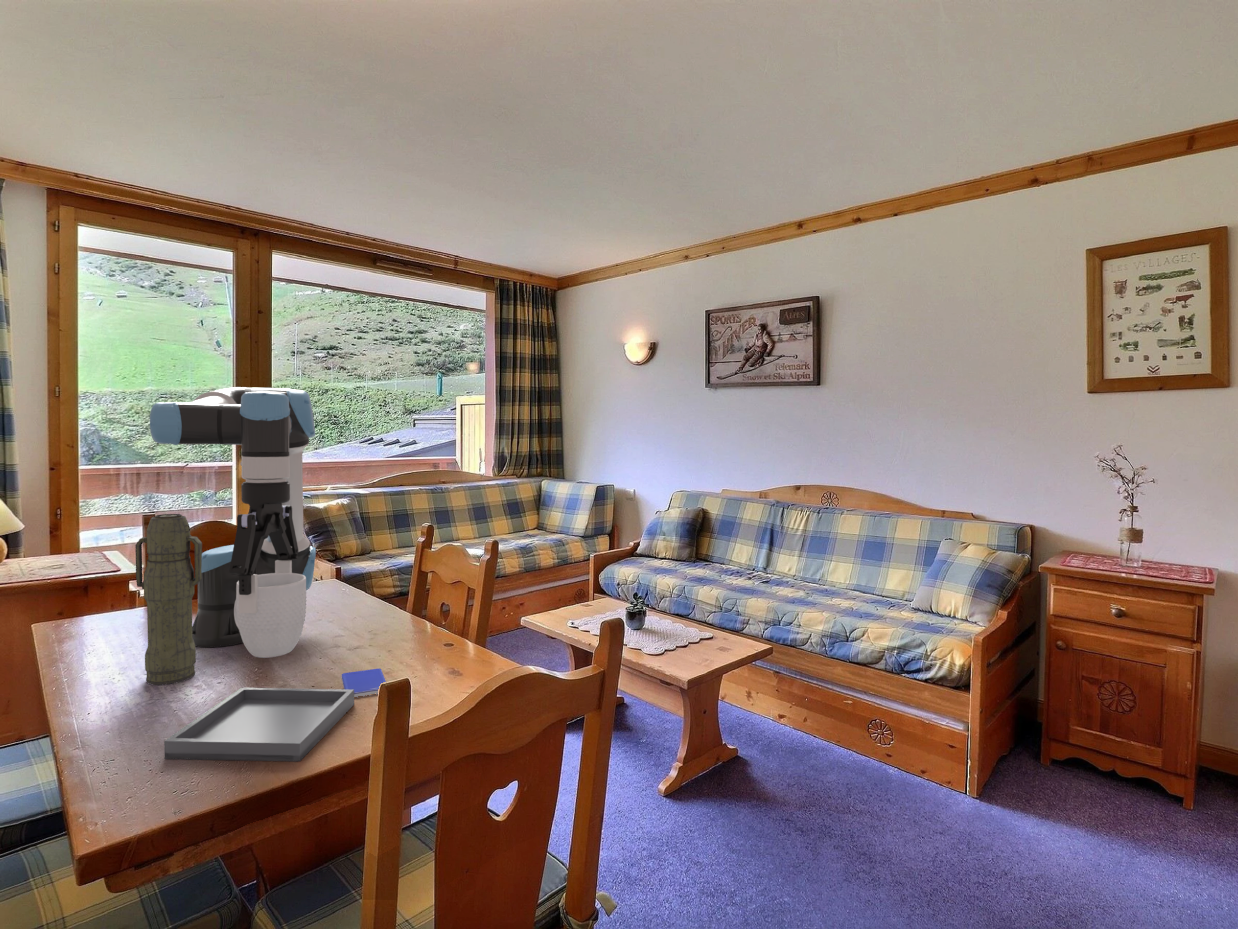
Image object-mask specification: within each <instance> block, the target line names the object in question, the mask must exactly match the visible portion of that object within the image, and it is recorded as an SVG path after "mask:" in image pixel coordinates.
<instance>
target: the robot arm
mask: <svg viewBox="0 0 1238 929" xmlns="http://www.w3.org/2000/svg"><path fill="white" fill-rule="evenodd" d="M313 412H314V411H313V404H312V401H311V397H310V394H309V393H308V392H307V391H305V390H302V389H292V388H288V387H287V388H281V387H278V388H276V387H246V386H242V387H241V386H235V387H233V386H232V387H227V388H226V387H225V388H221V389H216V390H211V391H207V392H203V393H202V394H199V395H198V396H197V397H196V398H195V399H194V400H193V401H192V400H191V401H189V402H188V401H187V402H176V401H170V402H163V401H161V402H155V403H154V404H153V405H152V407H151V409H150V414H149V429H150V430H149V431H150V435H151V439H152V440H153V441H154V442H155V443H156V444H160V445H161V444H163V445H173V446H178V445H226V446H227V445H228V446H231V445H232V446H234V445H235V446H239V445H240V446H241V452H240V454H241V455H240V456H241V461H240V463H239V464H240V466H241V478H242V479H243V480H245V481H243V482H242V483H241V502H242V503H243V504H246V505H248V506H249V509H248V513H247V514H246V513H245V514H243V513H239V514H237V516H236V532H235V539H234V542H233V544H230V545H229V544H228V545H223V546H219V547H215V548H211V549H209V550H208V549H207V550H206V551H204V552H203V551H202V566H201V573H202V580H201V581H199V582H198V583H197V613H196V616H195V618H194V621H193V622H192V638H193V640H194V643H195V647H200V648H218V647H227V646H235V645H239V644H244V643H243V641H242V638H241V635H240V632H239V629H238V627H237V625H236V623H235V618H234V605H235V601H236V585H237V582H238V581H239V613H257V612H258V602H257V600H258V587H257V575H261V574H270V573H297V574H302V575H304V576H305V577H306V591H307V590H309V589H310V588H311V587H312V584H313V578H314V571H315V562H316V557H317V556H316V555H317V549H316V547H315V546H312V545H311V542H310V540H309V538H307V537H306V536H304V493H303V492H304V486H303V485H304V484H303V483H304V480H303V479H304V478H303V477H304V476H303V473H304V472H303V469H304V468H303V465H304V464H303V451H304V449H305V448H306V447H308V445H309V444H310V438H313V437H315V436H316V428H315V427H316V426H315V419H314V413H313Z"/></svg>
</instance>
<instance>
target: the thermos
mask: <svg viewBox="0 0 1238 929" xmlns="http://www.w3.org/2000/svg"><path fill="white" fill-rule="evenodd" d="M143 543H144V544H146V554H147V558H148V559H147V560H146V567H145V570H144V573H143ZM191 543H192V544H193V545H194V567H193V564H192V562H191V560H192V559H191V558H192V557H191V556H190V551H191ZM134 546H135V547H134V548H135V581H136V587H137V588H141V589H142V590H143V599H144V600H145V602H146V605H147V606H146V608H147V609H146V614H147V615H146V616H147V648H146V651H145V654H144V670H145V671H146V672H145V673H146V678H145V681H147V682H146V683H147V684H148V683H149V684H148V685H151V684H153V685H154V686H166V685H165V684H167V685H172V684H171V683H173V684H177V683H176V682H178V683H180V682H185V681H186V680H189V679H191V678H192V677H194V676H195V674H196V669H195V668H196V667H195V665H196V662H197V658H196V657H197V656H196V655H197V654H196V652H197V651H196V646H195V643H194V640H193V638H192V626H193V597H194V595H195V586H197V585H198V582H199V581H201V580H202V573H201V566H202V553H203V542H202V541H201V540H200V539H199V537H198V536H192V535H191V527H190V524H189V521H188V519H187V517H186V516H185V515H183V514H182V513H181V514H180V513H163V514H157V515H155V516H153V517H151V518H150V520H149V523H148V525H147V528H146V536H143V537H141V538H139V539H138V541H137V542H136V543H135V545H134ZM184 680H185V681H184ZM162 684H163V685H162ZM153 685H152V686H153Z"/></svg>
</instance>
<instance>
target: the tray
mask: <svg viewBox="0 0 1238 929" xmlns="http://www.w3.org/2000/svg"><path fill="white" fill-rule="evenodd" d="M354 705H355V698H354V690H349V689H344V688H343V689H340V688H339V689H338V688H335V689H334V688H295V687H294V688H291V687H286V688H285V687H284V688H283V687H282V688H281V687H241V688H239V689H238V690H236V691H235V692H233V693H232V694H230V695H229V696H227V697H226V698H225V699H223V700H221V701H220V702H219V703H218V704H216V705H214V706H213V707H212V708H210V709H208V710H207V711H205V713H203V714H201V715H200V716H198V717H197V718H195V719H194V720H192V721H191V722H190V723H188V724H187V725H185V726H183V728H181V729H180V730H178V731H177V732H175V733H174V734H172V735H171V736H170V737H168V738H166V739H165V740H164V741H163V742H164V744H163V745H164V746H163V748H164V753H163V754H164V760H195V761H196V760H197V761H199V760H201V761H204V760H205V761H251V762H252V761H254V762H255V761H257V762H258V761H259V762H262V761H264V762H301V761H302V760H303V759H304V758H305V757H306V756H307V755H308V753H309V752H310V751H312V750H313V748H314V747H315V746H317V744H319V742H320V741H321V740H322V739H324V737H325V736H326V735H327V734H328V733H329V731H331V730H332V729H333V727H334V726H335V725H336V724H337V723H338V722H340V720H341V719H342V718H343V717H344V715H346V714H347V713H348V712H349V710H351V708H353V707H354ZM346 712H347V713H346Z"/></svg>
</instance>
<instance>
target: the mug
mask: <svg viewBox="0 0 1238 929" xmlns="http://www.w3.org/2000/svg"><path fill="white" fill-rule="evenodd" d="M257 587H258V600H257V602H258V612H257V613H239V581H238V582H237V585H236V601H235V605H234V618H235V623H236V625H237V627H238V629H239V632H240V635H241V638H242V641H243V643H242V644H243V645H244V647H245V649H246V650H247V651H248V653H249V654H250V655H251V656H253V657H255V658H259V659H260V658H264V659H265V658H267V659H268V658H275V657H276V658H277V657H282V656H284V655H286V654H289V653H290V652H292V651H293V650H294V649H295V647H296V646H297V644H298V642H299V640H300V638H301V635H302V633H303V629H304V624H305V621H306V613H307V611H306V610H307V590H306V577H305V576H304V575H302V574H297V573H270V574H261V575H257Z"/></svg>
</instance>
